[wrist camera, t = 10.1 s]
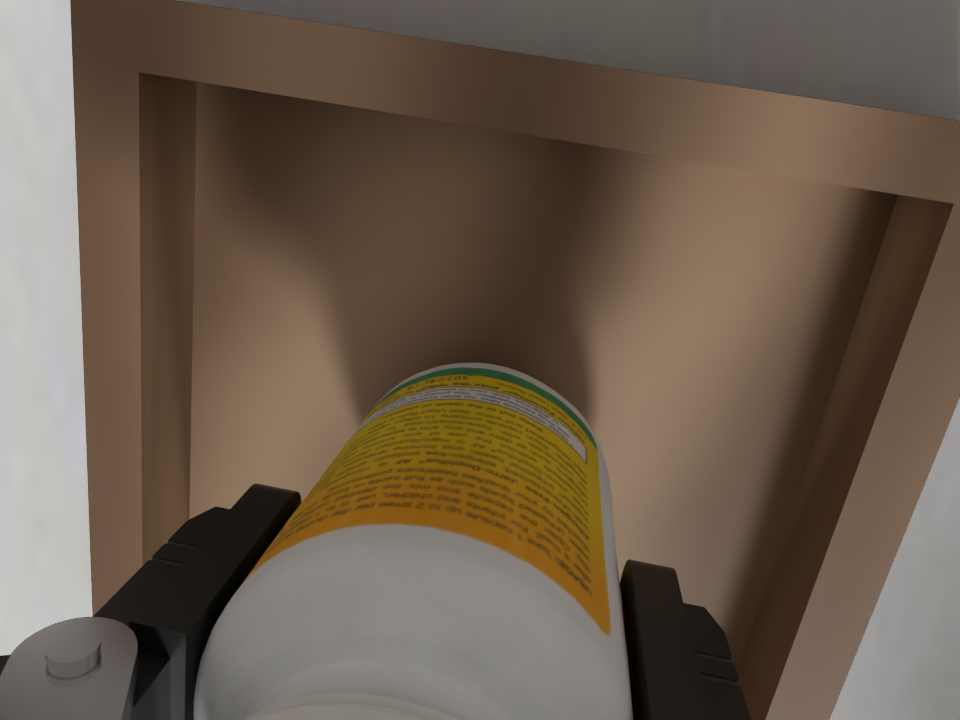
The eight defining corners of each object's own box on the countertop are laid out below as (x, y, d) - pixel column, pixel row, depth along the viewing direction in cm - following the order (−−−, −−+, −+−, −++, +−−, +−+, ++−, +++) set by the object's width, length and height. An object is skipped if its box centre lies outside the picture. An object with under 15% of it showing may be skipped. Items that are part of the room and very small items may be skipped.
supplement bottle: (636, 557, 15) (735, 1205, 6) (404, 604, 16) (190, 1211, 7) (567, 321, 14) (558, 703, 5) (317, 391, 15) (-86, 807, 6)
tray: (962, 135, 14) (1065, 137, 11) (738, 760, 19) (767, 873, 16) (166, 12, 15) (70, -16, 12) (163, 635, 20) (96, 719, 17)
